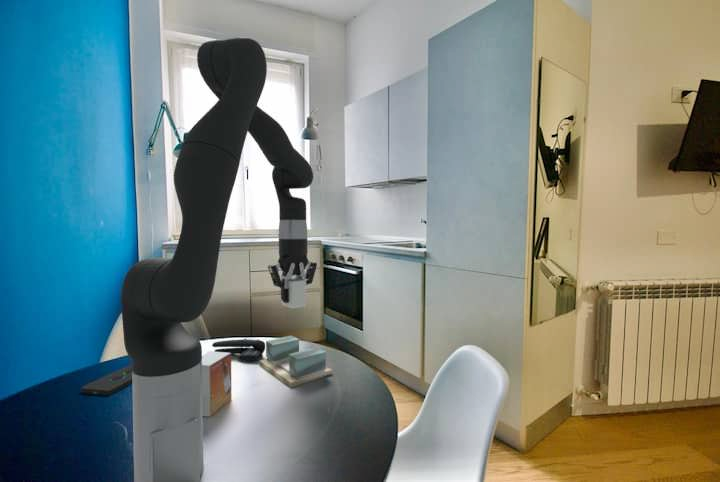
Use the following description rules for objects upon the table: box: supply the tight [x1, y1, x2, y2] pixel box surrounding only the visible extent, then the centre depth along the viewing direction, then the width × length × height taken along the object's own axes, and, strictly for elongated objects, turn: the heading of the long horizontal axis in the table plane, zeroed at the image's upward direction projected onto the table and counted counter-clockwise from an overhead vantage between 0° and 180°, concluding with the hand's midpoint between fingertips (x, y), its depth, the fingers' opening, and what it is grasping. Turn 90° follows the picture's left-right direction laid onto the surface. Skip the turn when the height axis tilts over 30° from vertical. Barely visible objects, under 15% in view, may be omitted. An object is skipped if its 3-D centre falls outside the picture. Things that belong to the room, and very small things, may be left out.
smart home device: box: [80, 363, 132, 396], centre depth 89 cm, size 8×2×20 cm
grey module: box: [281, 276, 307, 310], centre depth 92 cm, size 4×6×7 cm, turn 40°
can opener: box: [211, 337, 266, 363], centre depth 103 cm, size 18×7×6 cm, turn 72°
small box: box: [202, 350, 232, 418], centre depth 73 cm, size 8×6×10 cm
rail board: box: [259, 335, 333, 388], centre depth 93 cm, size 18×12×6 cm, turn 40°
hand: (293, 301), depth 93 cm, fingers closed on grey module, 4 cm apart
